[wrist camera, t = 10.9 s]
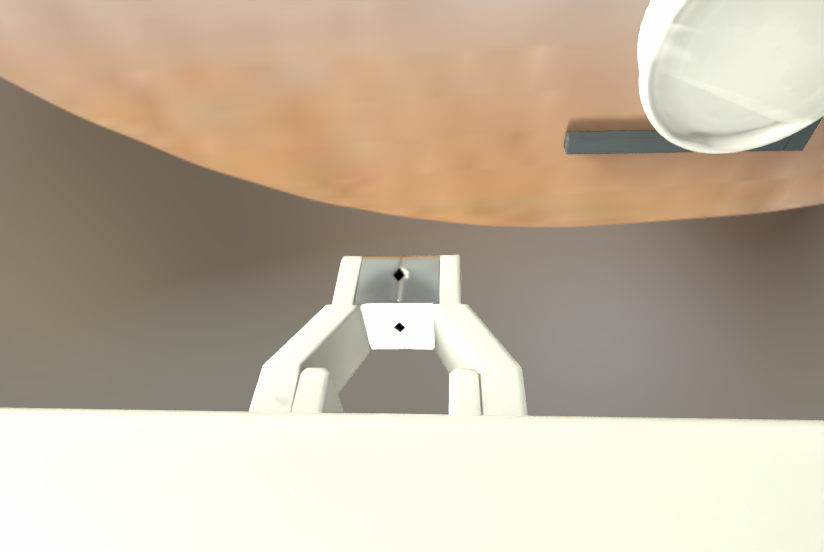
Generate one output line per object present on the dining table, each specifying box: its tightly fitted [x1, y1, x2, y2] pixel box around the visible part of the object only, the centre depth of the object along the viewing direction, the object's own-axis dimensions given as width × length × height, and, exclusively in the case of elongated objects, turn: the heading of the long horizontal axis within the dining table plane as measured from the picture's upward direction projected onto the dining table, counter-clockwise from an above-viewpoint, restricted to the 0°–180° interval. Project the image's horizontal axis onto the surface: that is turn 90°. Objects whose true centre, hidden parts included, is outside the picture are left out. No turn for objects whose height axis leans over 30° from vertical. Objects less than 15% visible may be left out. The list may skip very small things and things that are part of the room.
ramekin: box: [637, 0, 824, 154], centre depth 25 cm, size 11×11×5 cm
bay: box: [564, 117, 822, 154], centre depth 26 cm, size 15×16×1 cm
